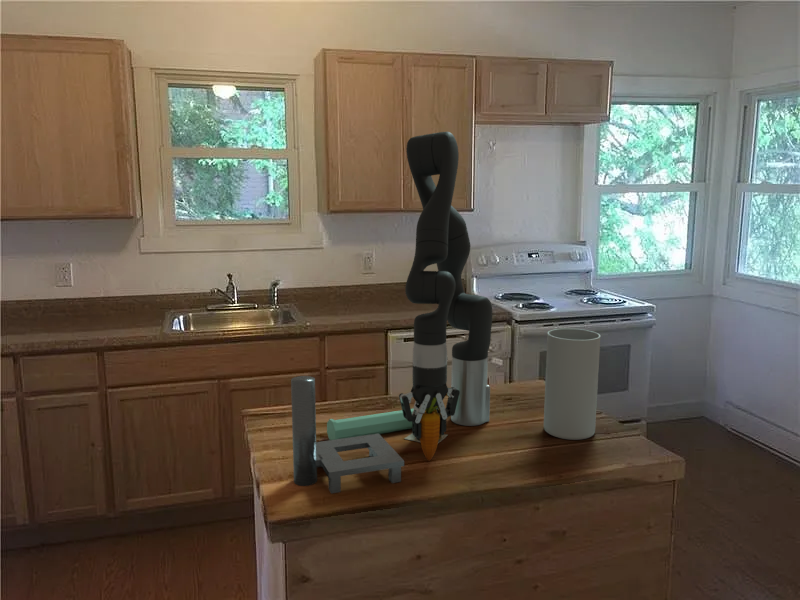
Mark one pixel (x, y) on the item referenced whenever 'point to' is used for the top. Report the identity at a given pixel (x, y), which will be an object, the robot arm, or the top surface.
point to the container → (367, 425)
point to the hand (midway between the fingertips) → (429, 435)
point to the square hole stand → (332, 445)
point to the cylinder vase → (571, 383)
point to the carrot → (430, 431)
